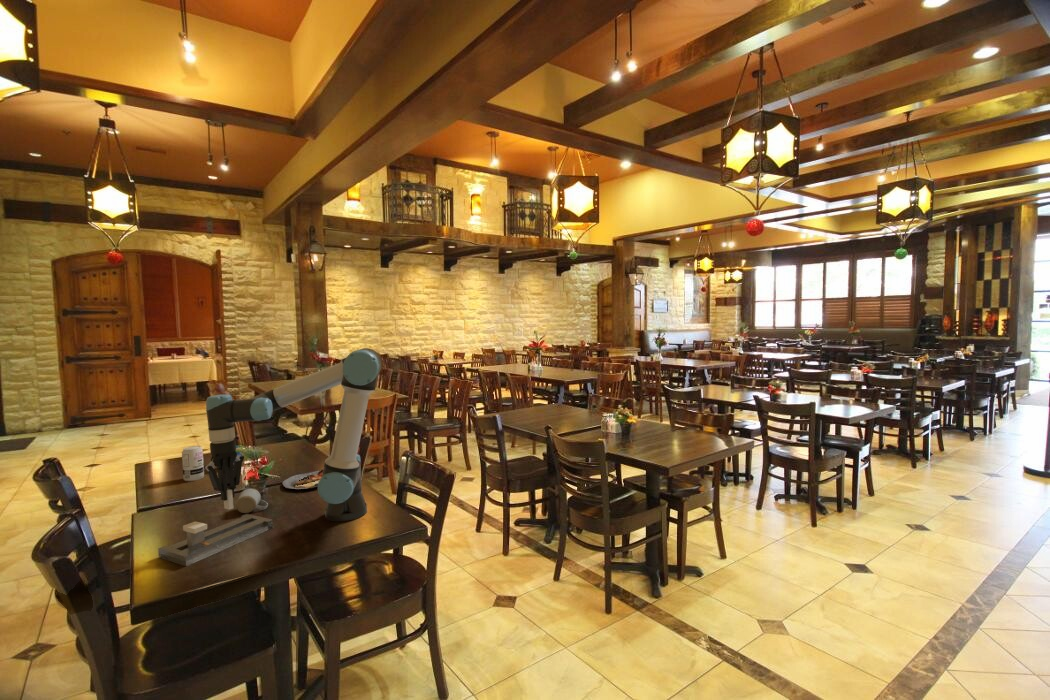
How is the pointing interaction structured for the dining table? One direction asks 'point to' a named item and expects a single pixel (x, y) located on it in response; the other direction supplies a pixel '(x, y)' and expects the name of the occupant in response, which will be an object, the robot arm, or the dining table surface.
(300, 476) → the food plate
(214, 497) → the dining table surface
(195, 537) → the fader tab
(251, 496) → the ceramic mug
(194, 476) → the supplement can
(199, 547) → the slider track base
